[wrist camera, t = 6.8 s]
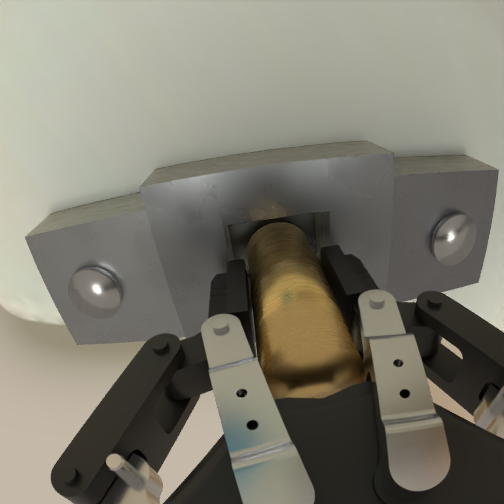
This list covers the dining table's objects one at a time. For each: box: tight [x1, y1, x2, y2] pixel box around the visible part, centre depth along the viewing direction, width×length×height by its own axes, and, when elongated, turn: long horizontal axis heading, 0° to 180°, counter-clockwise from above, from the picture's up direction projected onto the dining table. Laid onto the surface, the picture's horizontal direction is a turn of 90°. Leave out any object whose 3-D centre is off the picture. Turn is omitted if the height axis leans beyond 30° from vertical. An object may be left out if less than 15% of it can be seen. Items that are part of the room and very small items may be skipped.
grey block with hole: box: [25, 141, 498, 345], centre depth 15 cm, size 24×9×4 cm, turn 98°
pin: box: [247, 222, 364, 400], centre depth 12 cm, size 3×3×8 cm
